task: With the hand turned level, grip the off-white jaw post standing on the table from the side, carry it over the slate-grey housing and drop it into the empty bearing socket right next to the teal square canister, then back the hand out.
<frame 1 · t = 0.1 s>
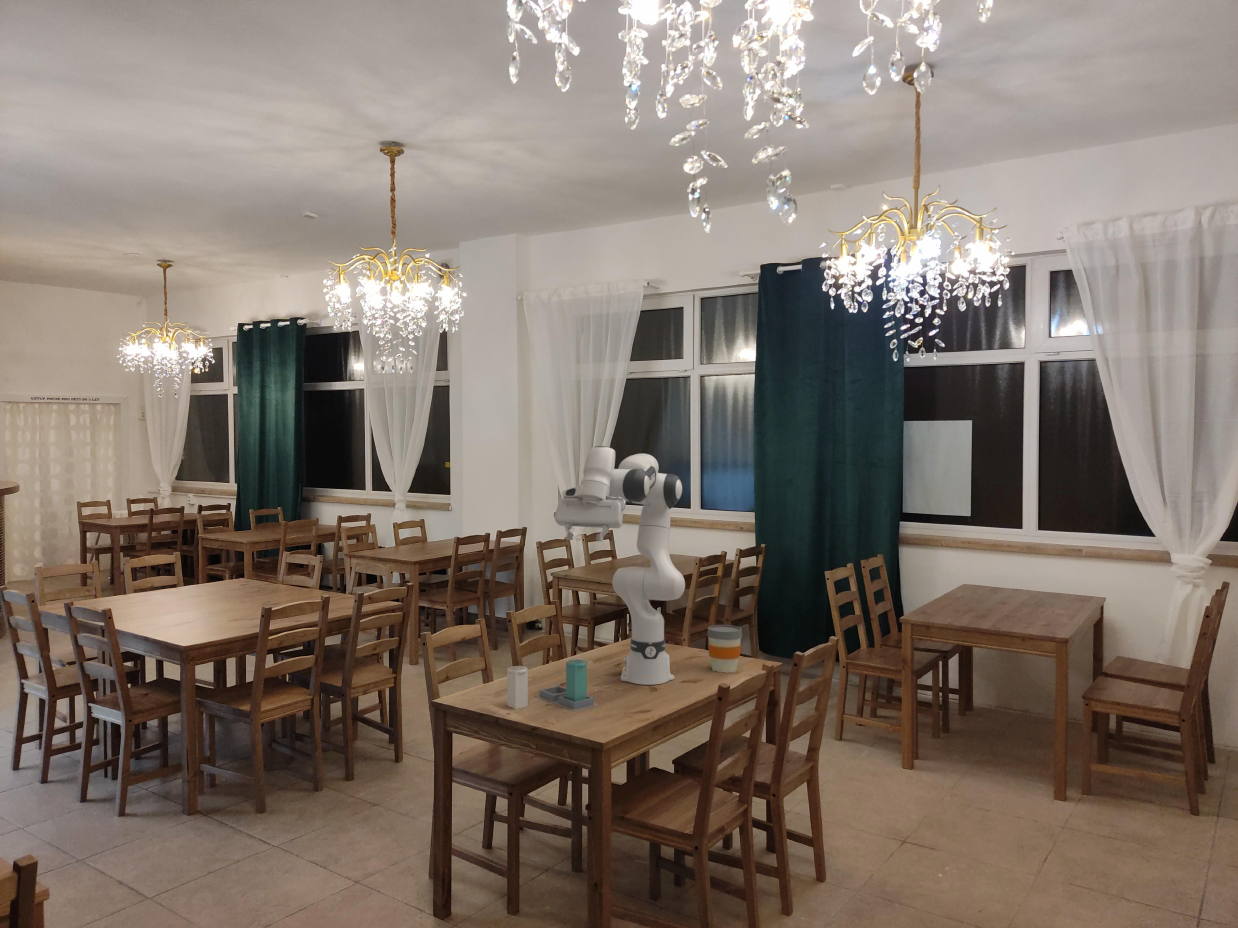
hand: (583, 539, 250), 54 cm above the table, fingers open, 8 cm apart
teal square canister: (576, 703, 271), resting on housing
housing: (566, 704, 274), on the table
reusable coffee cup: (724, 669, 319), on the table
jaw post: (517, 710, 268), on the table
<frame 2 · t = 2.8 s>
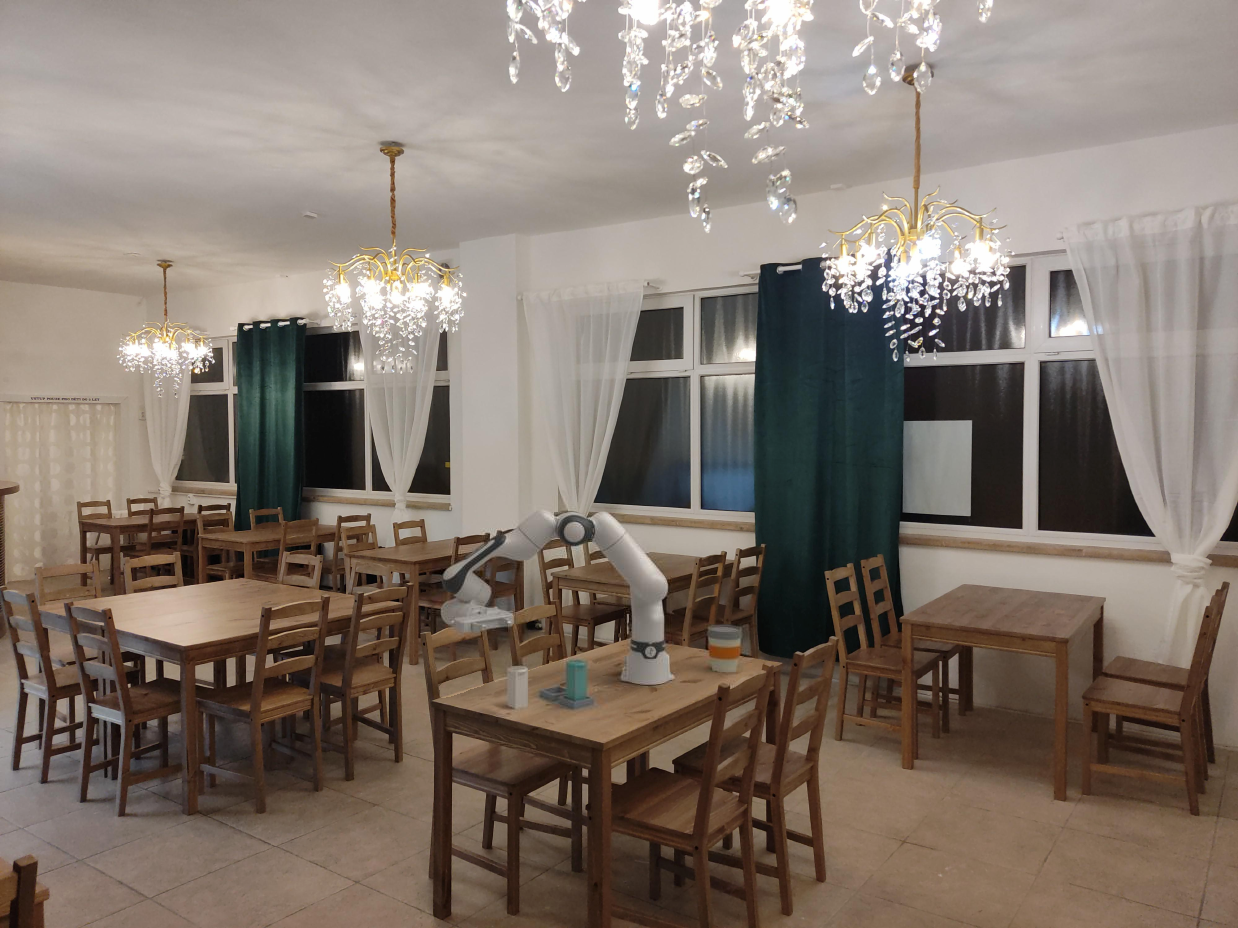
hand: (497, 626, 276), 24 cm above the table, fingers open, 8 cm apart
nothing on the table moved.
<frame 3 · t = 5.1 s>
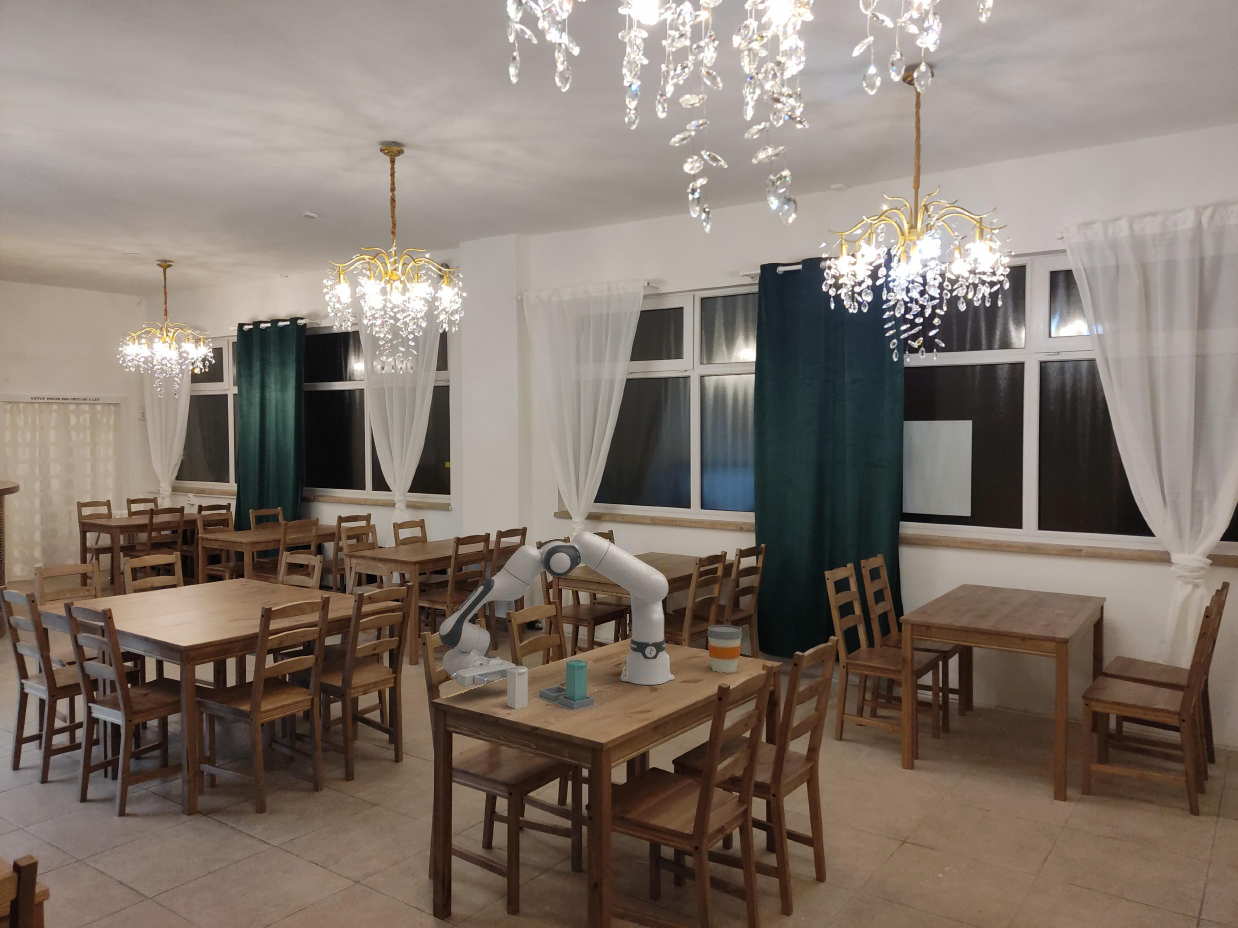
hand: (499, 678, 276), 8 cm above the table, fingers open, 8 cm apart
nothing on the table moved.
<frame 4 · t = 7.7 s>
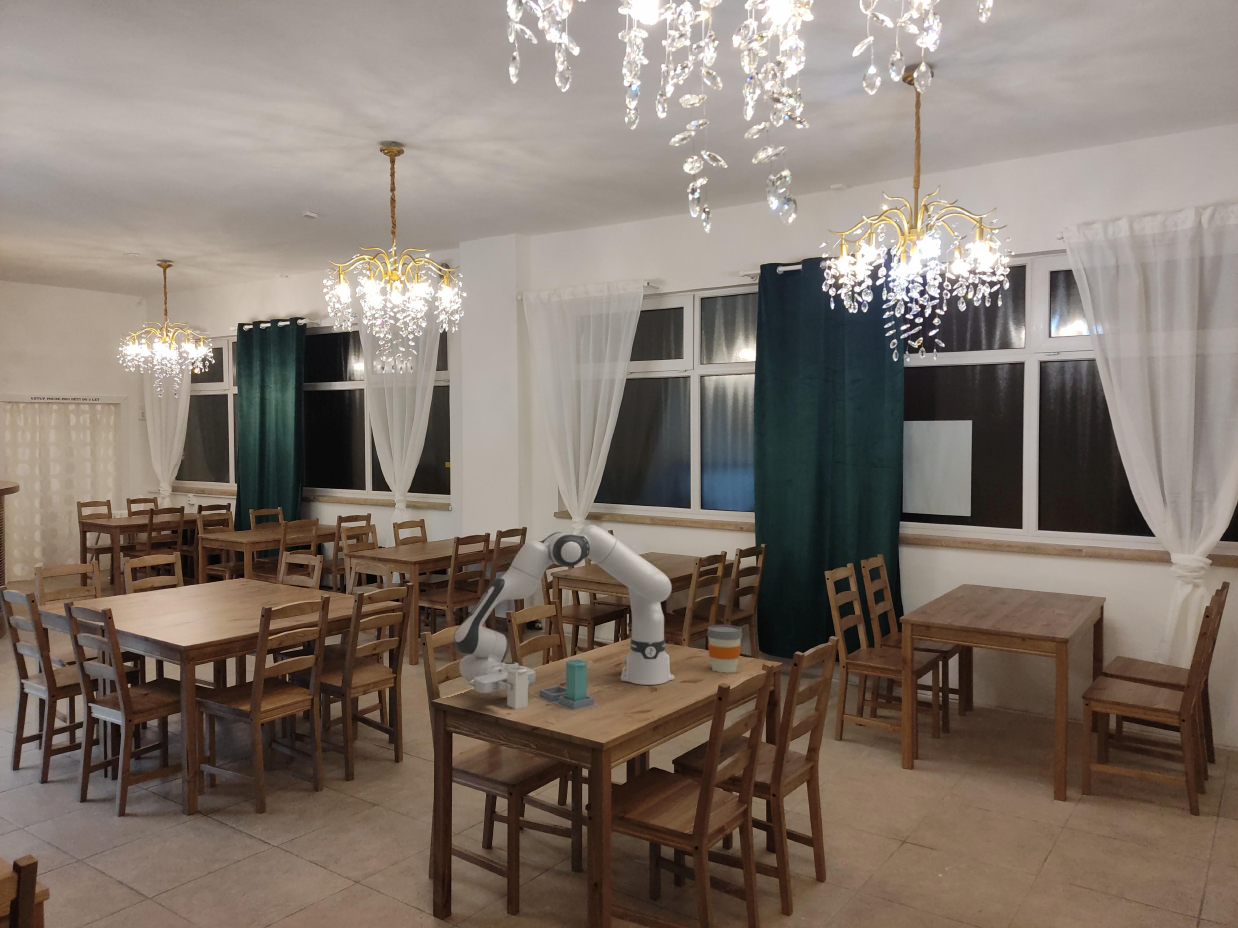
hand: (519, 685, 267), 8 cm above the table, fingers closed on jaw post, 4 cm apart
jaw post: (517, 710, 268), on the table, touching gripper
everything else where it was.
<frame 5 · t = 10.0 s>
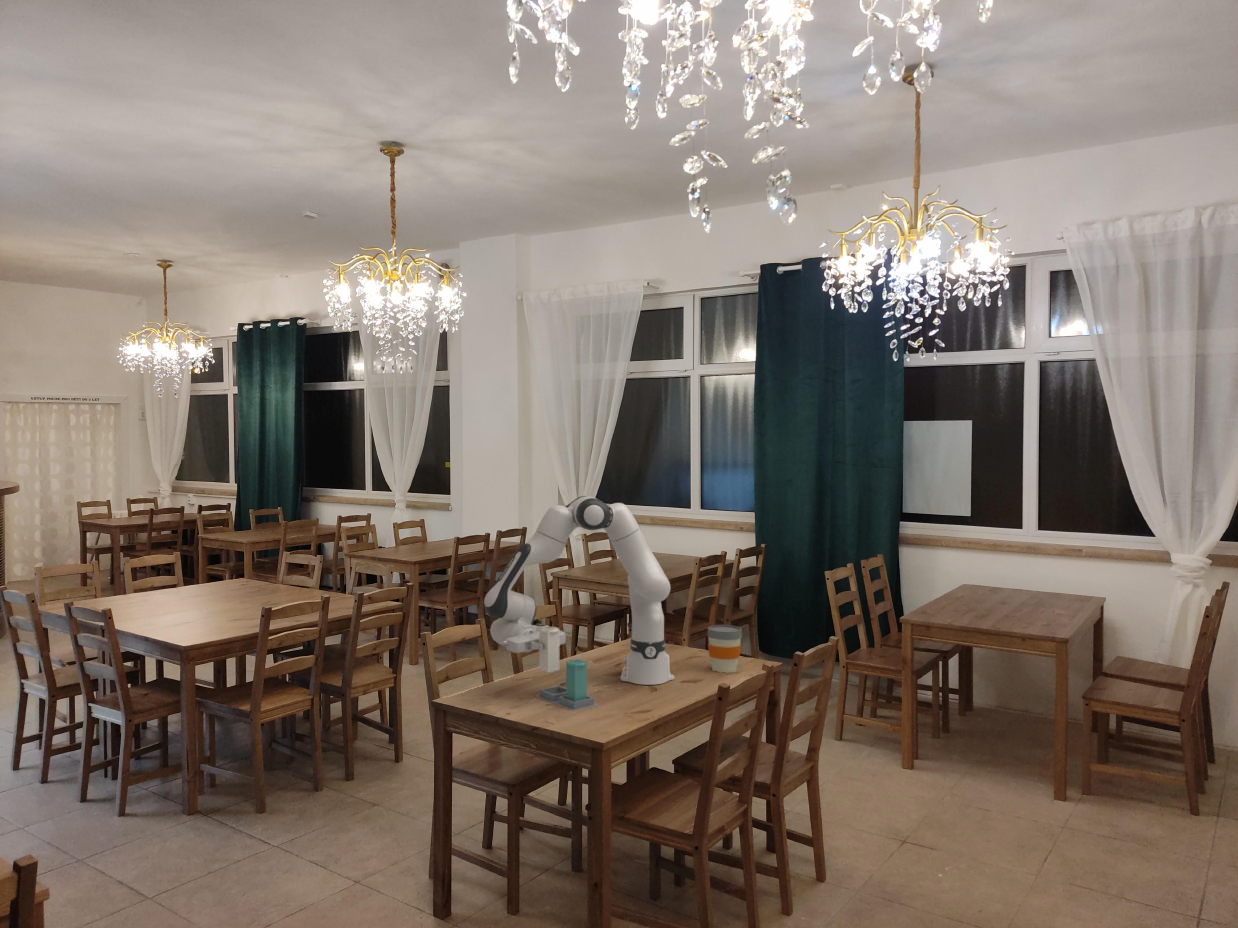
hand: (551, 645, 275), 18 cm above the table, fingers closed on jaw post, 4 cm apart
jaw post: (549, 669, 276), point 11 cm above the table, touching gripper
everything else where it was.
when the fingers open (11 cm above the table, at t = 12.7 s): jaw post drops 1 cm, resting on housing.
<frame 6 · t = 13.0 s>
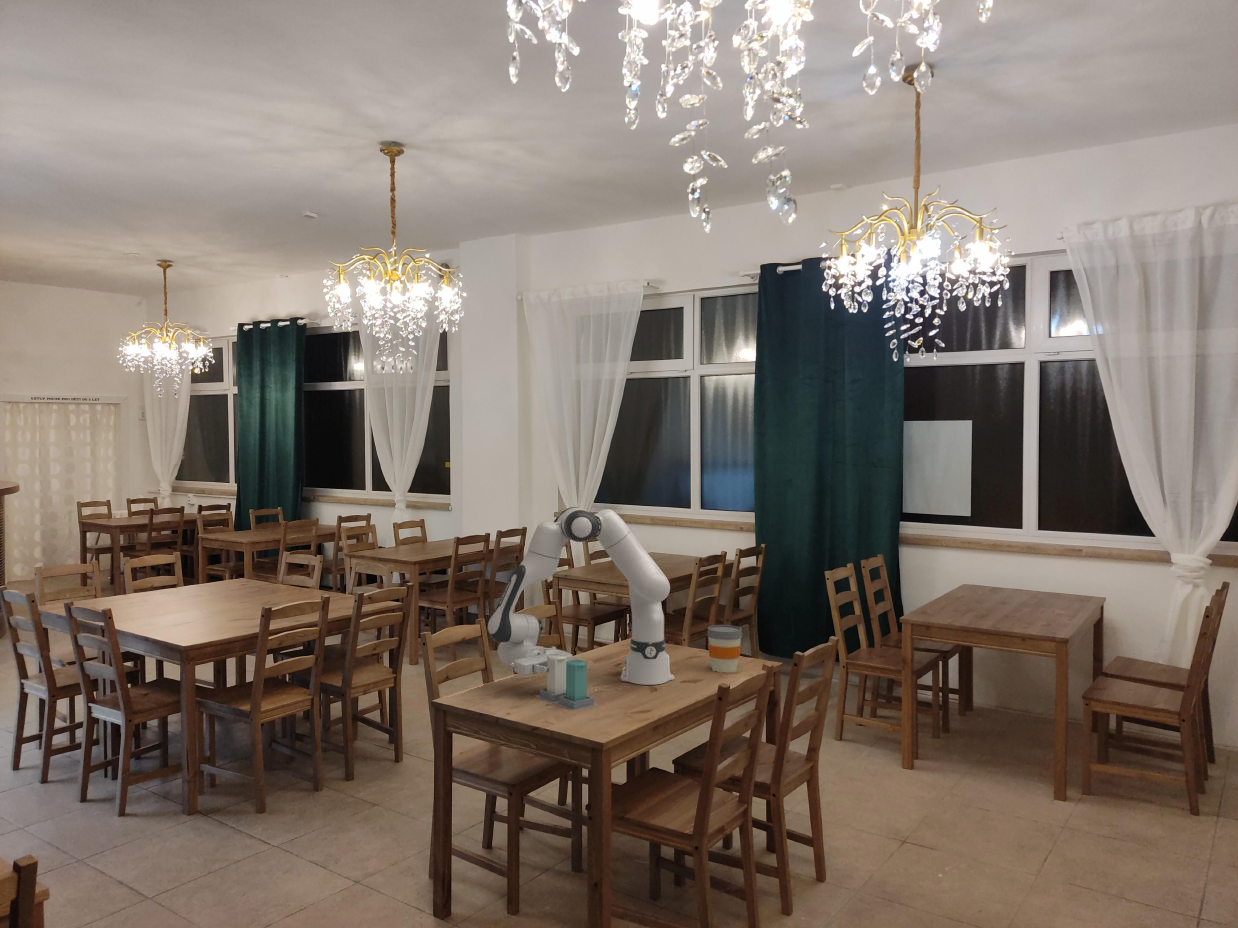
hand: (558, 667, 277), 11 cm above the table, fingers open, 7 cm apart
jaw post: (556, 696, 278), point 1 cm above the table, touching housing
everything else where it was.
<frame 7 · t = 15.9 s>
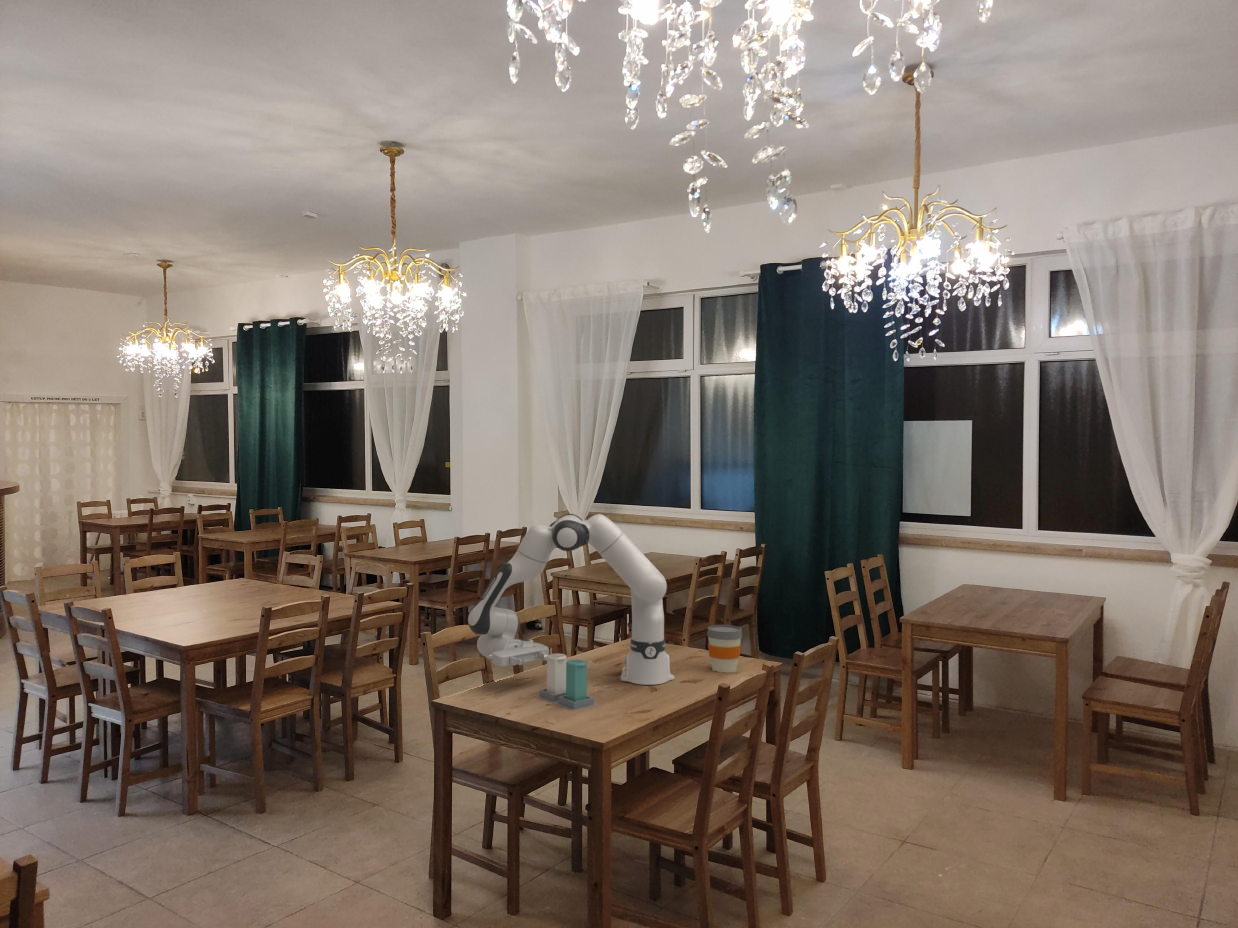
hand: (534, 660, 287), 11 cm above the table, fingers open, 8 cm apart
nothing on the table moved.
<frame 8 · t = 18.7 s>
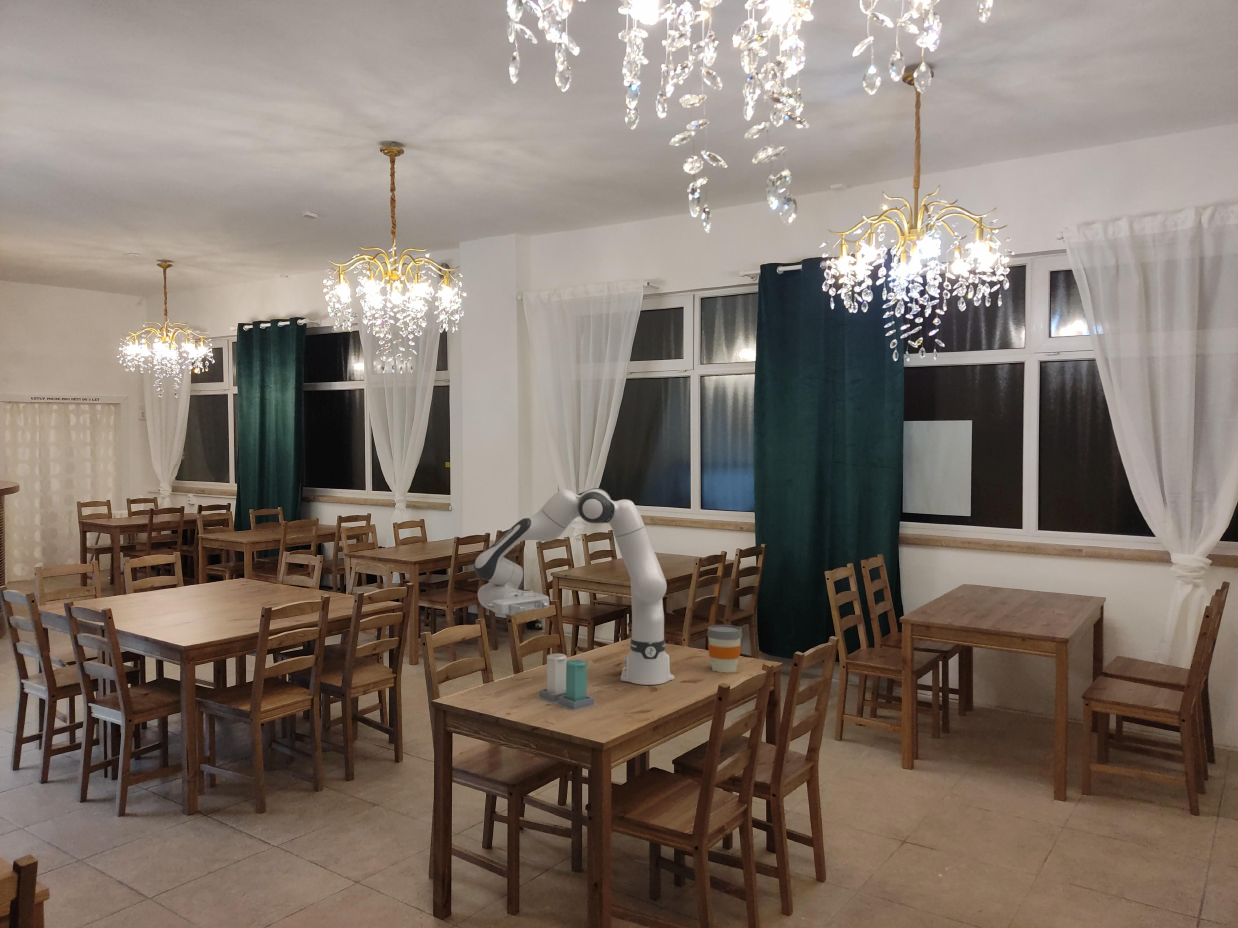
hand: (534, 607, 287), 28 cm above the table, fingers open, 8 cm apart
nothing on the table moved.
at the end: jaw post 0.1 cm from the target spot, point 1.5 cm above the table; jaw post tilted 0°; the gripper is holding nothing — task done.
